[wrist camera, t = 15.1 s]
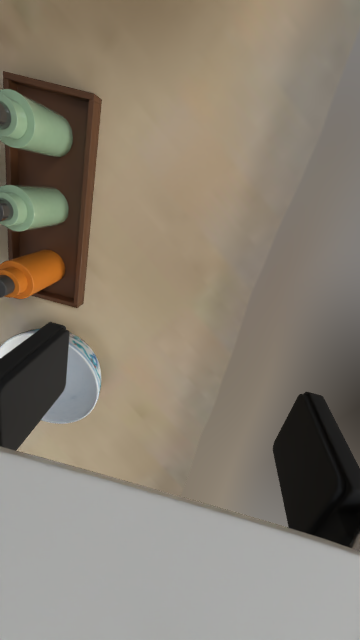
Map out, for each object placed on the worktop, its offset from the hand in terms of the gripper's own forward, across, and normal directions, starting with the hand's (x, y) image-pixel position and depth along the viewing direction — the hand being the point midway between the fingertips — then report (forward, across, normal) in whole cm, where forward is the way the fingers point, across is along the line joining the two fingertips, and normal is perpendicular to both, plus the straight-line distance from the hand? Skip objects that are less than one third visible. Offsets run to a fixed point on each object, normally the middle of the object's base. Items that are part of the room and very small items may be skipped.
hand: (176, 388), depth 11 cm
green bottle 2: (+28, +21, -1) cm, 35 cm away
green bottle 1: (+28, +21, -9) cm, 36 cm away
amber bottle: (+28, +21, +7) cm, 36 cm away
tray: (+28, +21, -1) cm, 35 cm away
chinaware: (+28, +17, +21) cm, 39 cm away
